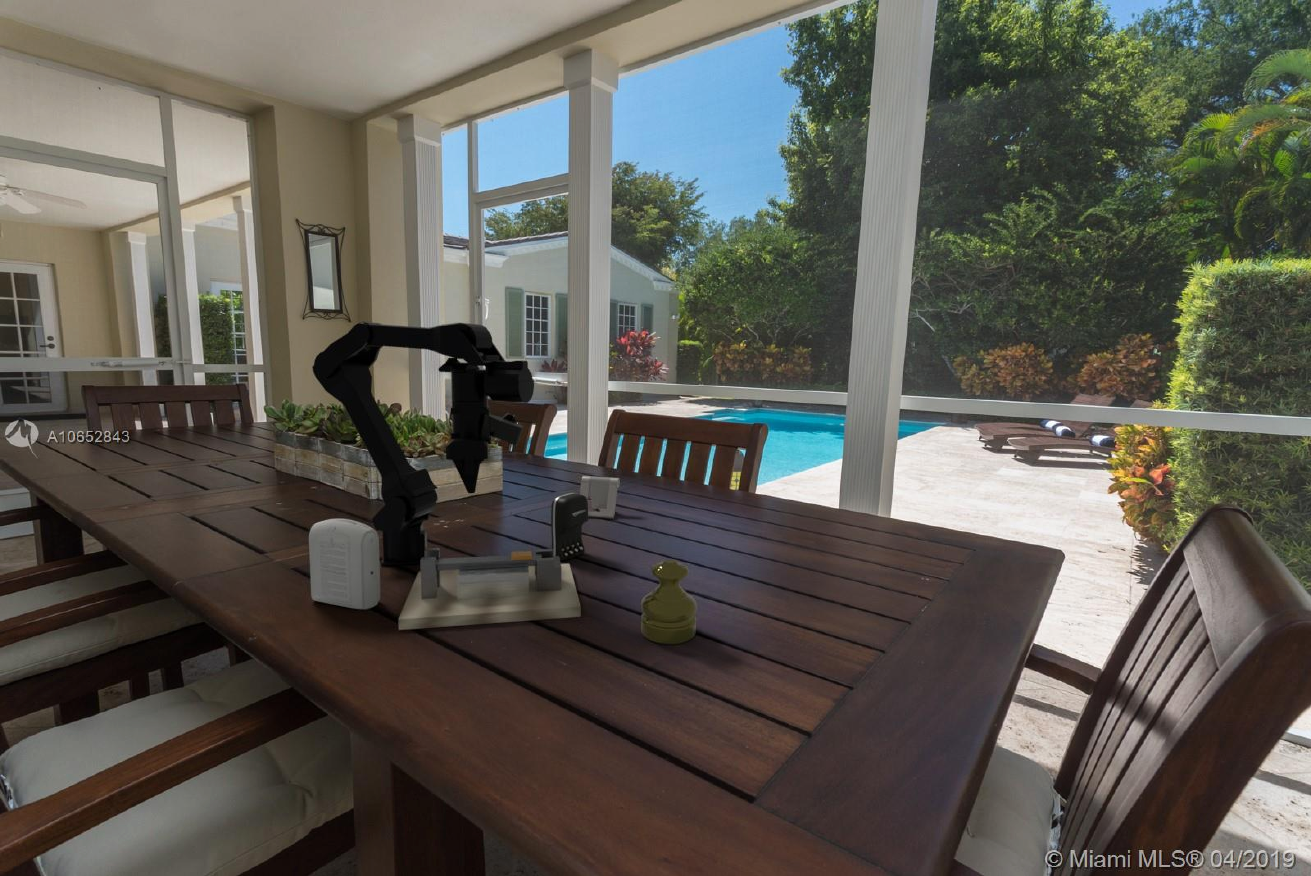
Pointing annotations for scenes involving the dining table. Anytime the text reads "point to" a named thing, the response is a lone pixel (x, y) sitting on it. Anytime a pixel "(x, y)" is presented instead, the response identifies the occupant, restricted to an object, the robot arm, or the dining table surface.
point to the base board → (488, 604)
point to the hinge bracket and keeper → (545, 578)
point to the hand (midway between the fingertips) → (471, 493)
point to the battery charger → (568, 525)
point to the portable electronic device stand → (601, 494)
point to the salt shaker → (668, 606)
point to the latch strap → (489, 561)
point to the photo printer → (344, 563)
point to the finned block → (492, 583)
